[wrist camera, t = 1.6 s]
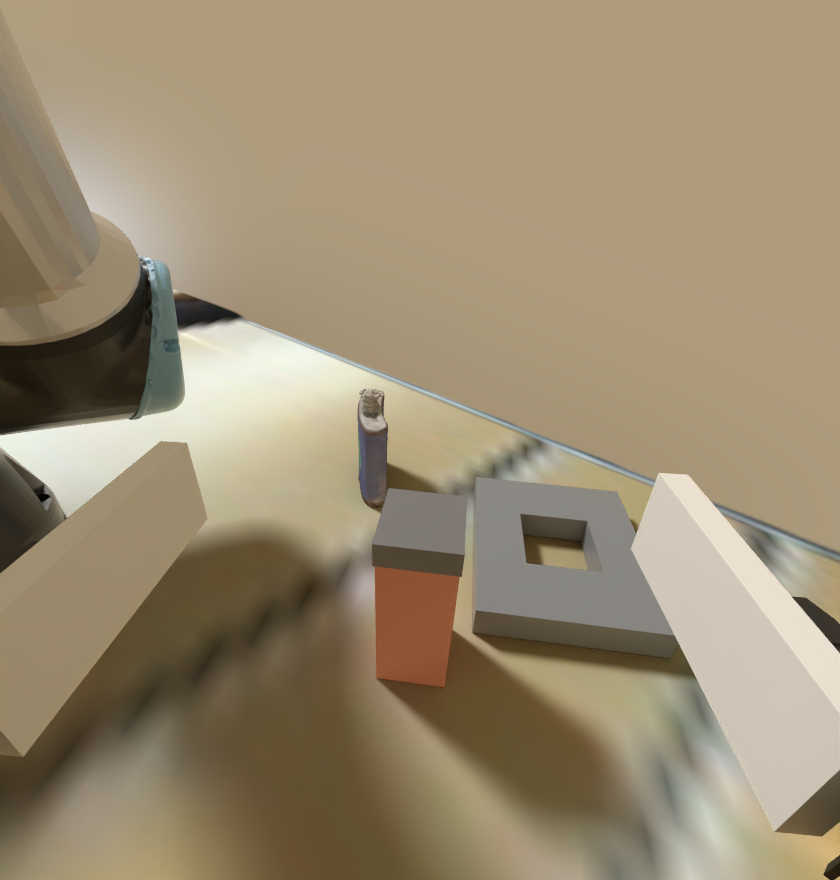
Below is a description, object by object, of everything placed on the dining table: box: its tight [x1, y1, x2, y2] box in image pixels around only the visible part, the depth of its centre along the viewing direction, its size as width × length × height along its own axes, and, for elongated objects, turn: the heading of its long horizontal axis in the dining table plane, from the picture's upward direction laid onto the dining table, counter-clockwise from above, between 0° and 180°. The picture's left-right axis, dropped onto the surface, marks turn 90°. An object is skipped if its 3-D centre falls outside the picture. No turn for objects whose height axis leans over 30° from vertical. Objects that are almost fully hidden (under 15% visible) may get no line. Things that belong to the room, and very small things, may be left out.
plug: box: [372, 488, 467, 688], centre depth 27 cm, size 5×5×12 cm
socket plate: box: [472, 477, 679, 658], centre depth 37 cm, size 14×16×2 cm
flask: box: [358, 389, 388, 507], centre depth 44 cm, size 9×3×11 cm, turn 7°
